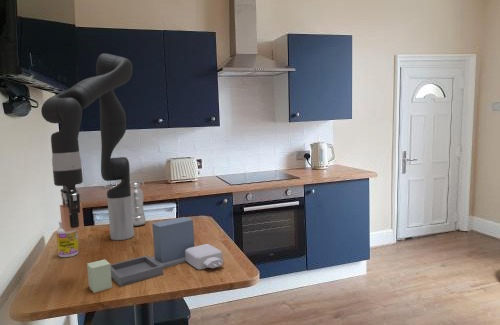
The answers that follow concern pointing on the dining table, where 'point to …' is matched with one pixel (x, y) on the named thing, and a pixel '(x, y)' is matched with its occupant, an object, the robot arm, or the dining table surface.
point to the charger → (204, 256)
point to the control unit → (172, 240)
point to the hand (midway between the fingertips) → (72, 225)
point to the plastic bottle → (137, 204)
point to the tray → (135, 270)
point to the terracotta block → (66, 219)
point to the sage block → (99, 275)
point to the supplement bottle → (67, 242)
